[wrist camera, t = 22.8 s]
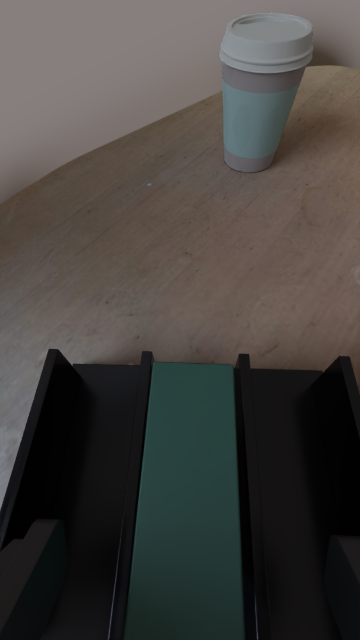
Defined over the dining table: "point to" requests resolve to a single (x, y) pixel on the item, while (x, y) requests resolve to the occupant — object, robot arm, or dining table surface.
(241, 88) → the coffee cup
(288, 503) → the rack
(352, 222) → the dining table surface
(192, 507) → the green book
